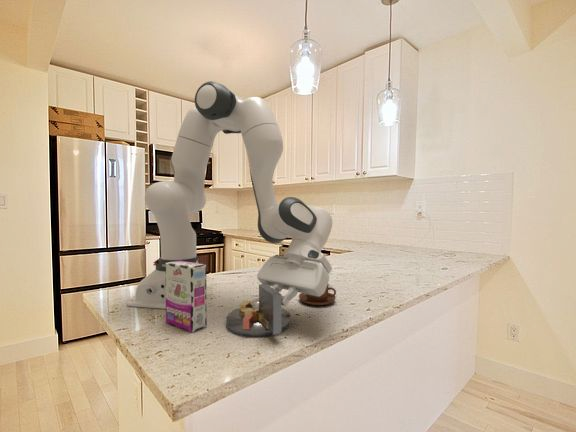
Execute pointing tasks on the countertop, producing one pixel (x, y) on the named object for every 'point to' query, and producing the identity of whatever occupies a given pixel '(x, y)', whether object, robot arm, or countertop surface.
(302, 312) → the countertop surface
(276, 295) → the gray slab gold ring
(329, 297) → the cup and saucer
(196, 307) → the candy bar box
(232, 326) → the cap plate
